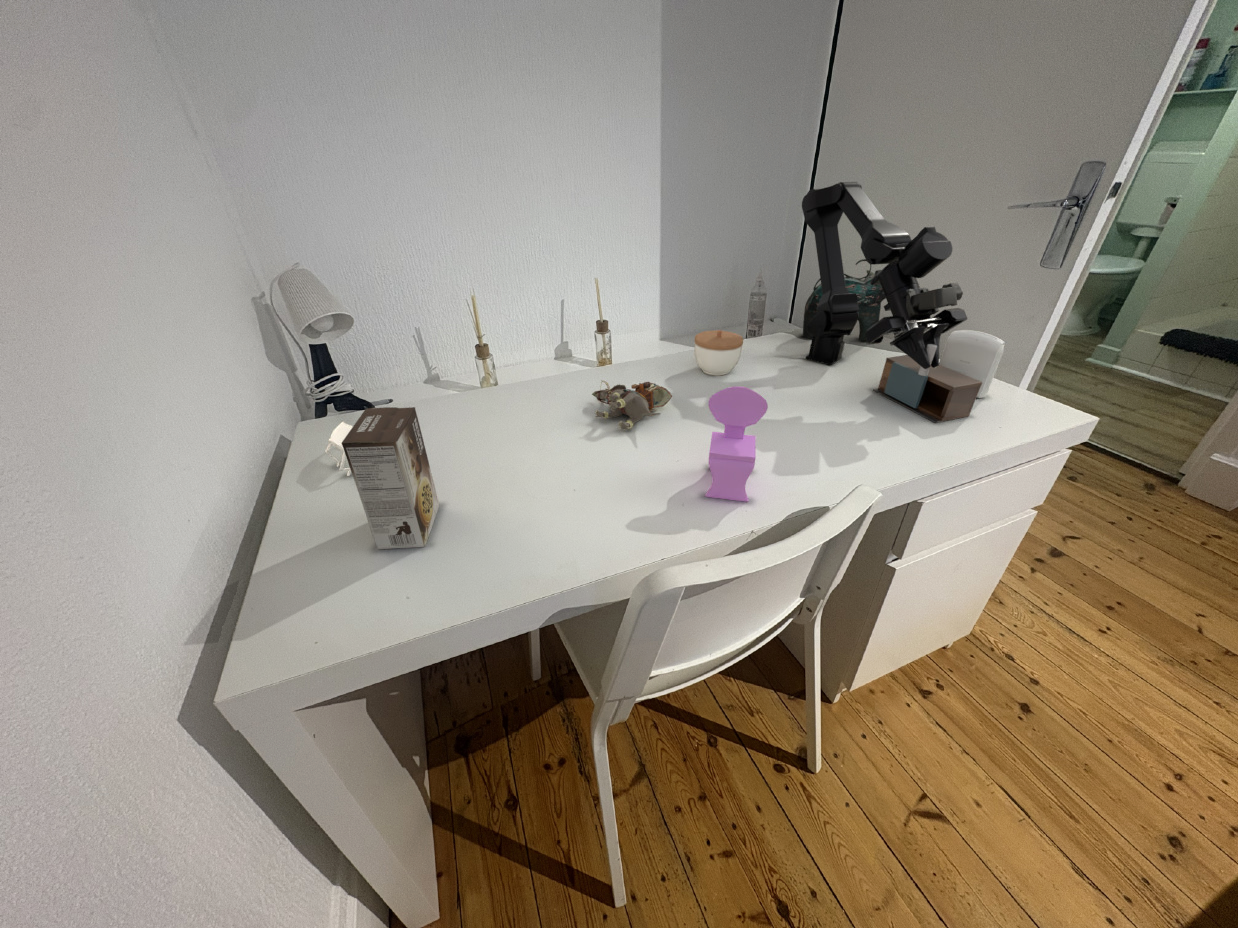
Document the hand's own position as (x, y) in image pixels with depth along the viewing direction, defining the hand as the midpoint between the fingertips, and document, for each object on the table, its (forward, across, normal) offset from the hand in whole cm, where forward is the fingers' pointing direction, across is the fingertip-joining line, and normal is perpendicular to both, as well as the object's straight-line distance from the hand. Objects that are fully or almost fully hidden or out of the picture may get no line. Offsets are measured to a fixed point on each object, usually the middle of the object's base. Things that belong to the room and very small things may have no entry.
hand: (931, 367), depth 94 cm
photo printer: (+3, +16, +10) cm, 19 cm away
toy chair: (+13, -47, 0) cm, 49 cm away
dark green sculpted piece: (-23, +15, +36) cm, 45 cm away
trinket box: (-16, -26, +30) cm, 43 cm away
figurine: (-7, -51, +20) cm, 55 cm away
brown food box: (+9, -93, +4) cm, 94 cm away
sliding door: (+3, 0, +9) cm, 10 cm away
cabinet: (+4, +4, +9) cm, 10 cm away
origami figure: (-7, -102, +20) cm, 104 cm away
